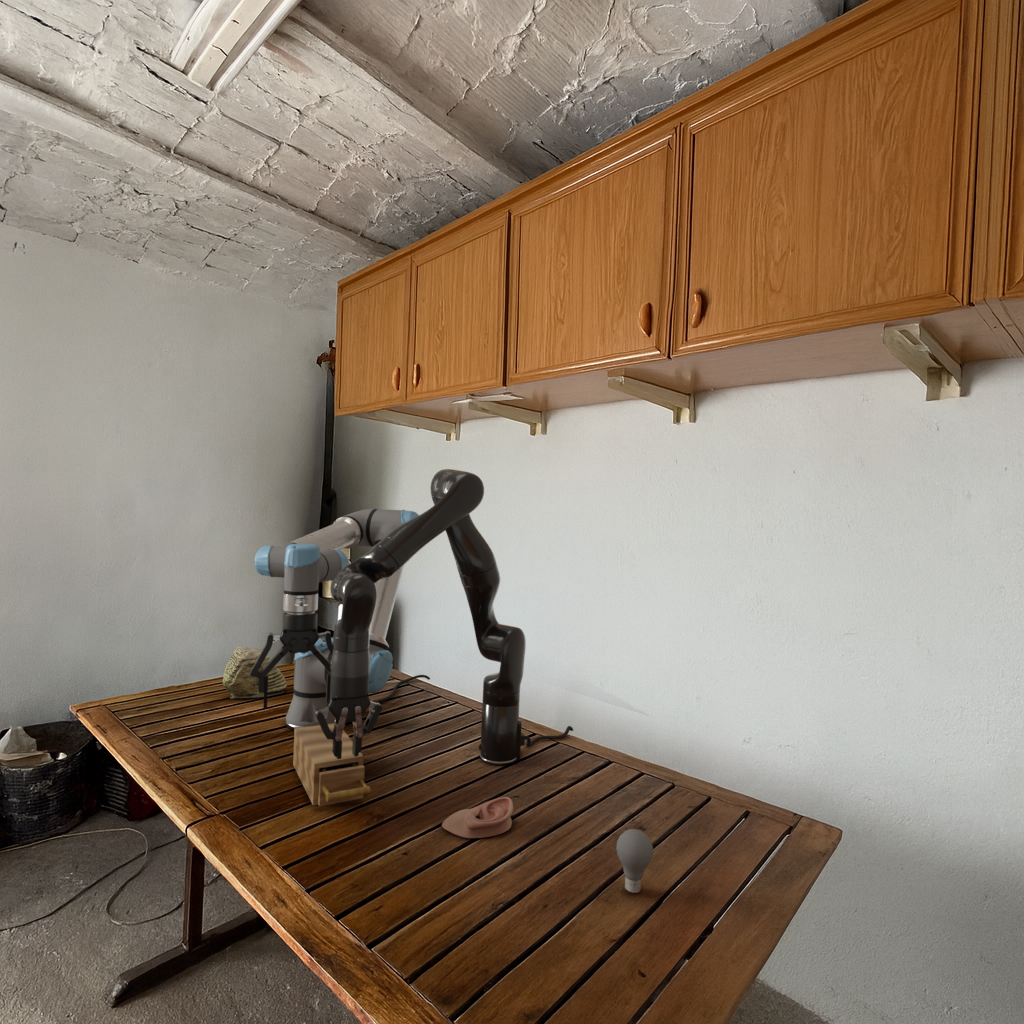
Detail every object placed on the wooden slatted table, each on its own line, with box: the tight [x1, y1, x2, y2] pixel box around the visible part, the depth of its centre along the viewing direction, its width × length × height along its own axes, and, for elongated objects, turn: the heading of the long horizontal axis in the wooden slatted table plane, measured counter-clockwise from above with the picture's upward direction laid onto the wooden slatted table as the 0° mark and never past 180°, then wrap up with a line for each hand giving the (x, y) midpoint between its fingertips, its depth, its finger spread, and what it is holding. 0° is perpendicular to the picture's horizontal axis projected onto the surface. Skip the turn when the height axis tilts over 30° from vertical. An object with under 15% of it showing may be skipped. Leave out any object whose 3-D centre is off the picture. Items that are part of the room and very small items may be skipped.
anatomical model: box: [441, 796, 514, 839], centre depth 125 cm, size 13×4×12 cm
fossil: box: [222, 646, 288, 699], centre depth 198 cm, size 9×18×15 cm, turn 132°
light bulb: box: [615, 828, 654, 894], centre depth 106 cm, size 6×6×10 cm
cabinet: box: [292, 723, 364, 806], centre depth 142 cm, size 22×10×9 cm, turn 29°
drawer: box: [318, 762, 371, 807], centre depth 136 cm, size 26×9×7 cm, turn 29°
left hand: (297, 704), depth 145 cm, fingers open, 13 cm apart
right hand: (347, 755), depth 127 cm, fingers open, 3 cm apart
